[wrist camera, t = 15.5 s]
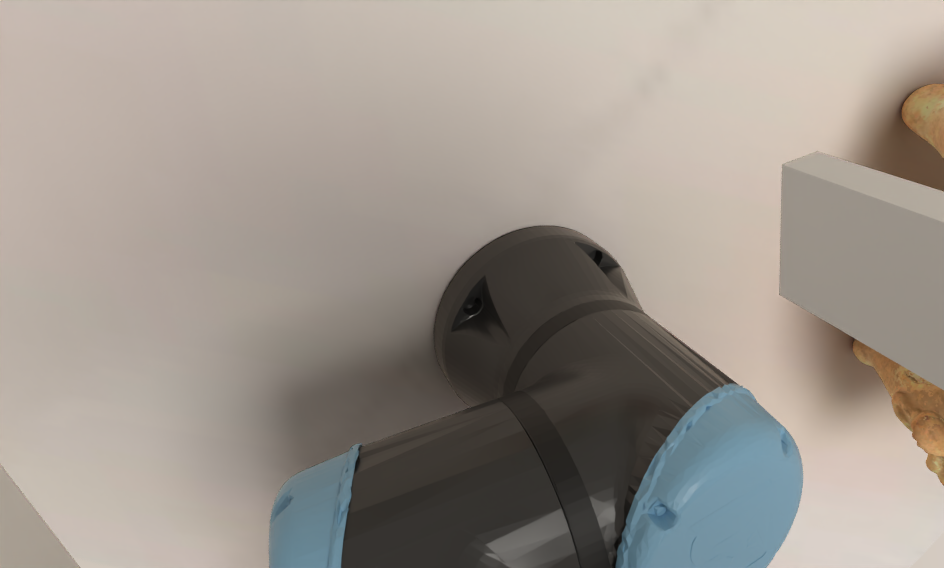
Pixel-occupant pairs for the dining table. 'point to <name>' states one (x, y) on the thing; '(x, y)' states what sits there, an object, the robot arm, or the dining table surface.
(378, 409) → the dining table surface
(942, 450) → the decorative bowl
